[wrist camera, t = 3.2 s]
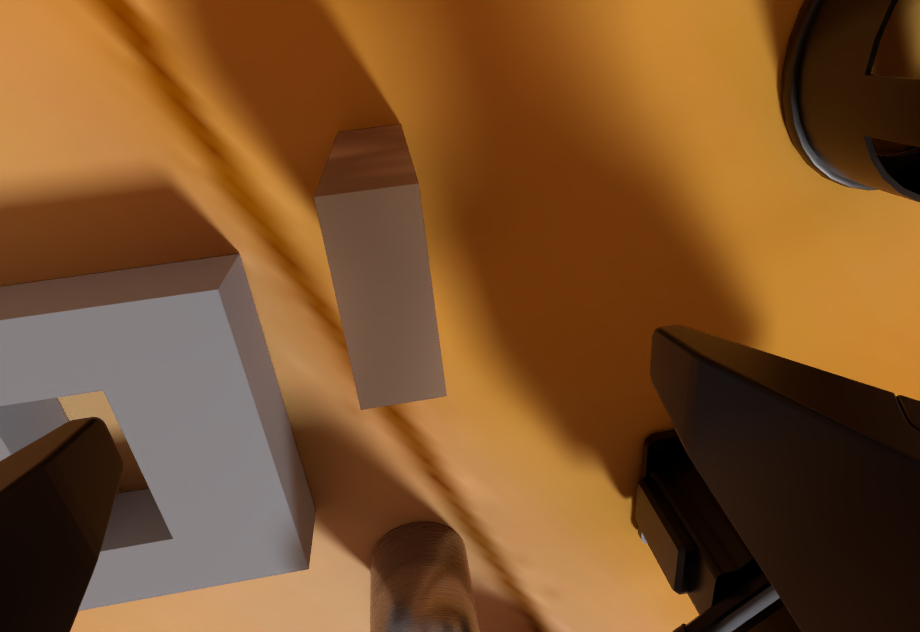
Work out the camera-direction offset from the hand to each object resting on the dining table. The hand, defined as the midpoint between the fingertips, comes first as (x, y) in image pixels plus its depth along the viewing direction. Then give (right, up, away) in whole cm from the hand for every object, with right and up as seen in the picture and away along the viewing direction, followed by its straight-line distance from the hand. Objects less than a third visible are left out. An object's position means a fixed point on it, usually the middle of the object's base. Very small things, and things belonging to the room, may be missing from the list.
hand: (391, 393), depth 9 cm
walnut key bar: (-2, +5, +10) cm, 11 cm away
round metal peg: (-1, -10, +17) cm, 20 cm away
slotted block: (-12, -3, +12) cm, 17 cm away
